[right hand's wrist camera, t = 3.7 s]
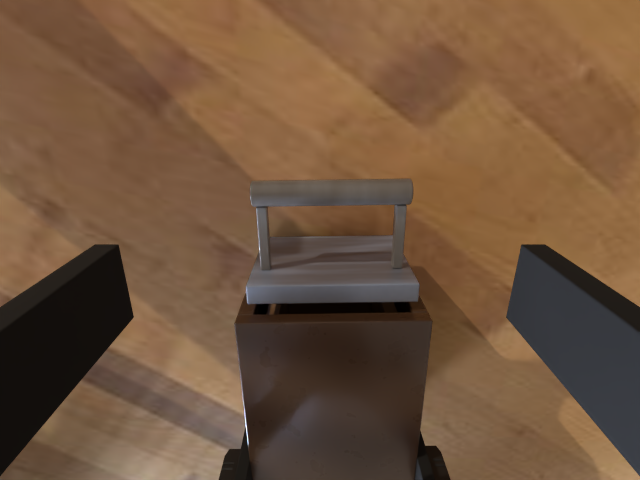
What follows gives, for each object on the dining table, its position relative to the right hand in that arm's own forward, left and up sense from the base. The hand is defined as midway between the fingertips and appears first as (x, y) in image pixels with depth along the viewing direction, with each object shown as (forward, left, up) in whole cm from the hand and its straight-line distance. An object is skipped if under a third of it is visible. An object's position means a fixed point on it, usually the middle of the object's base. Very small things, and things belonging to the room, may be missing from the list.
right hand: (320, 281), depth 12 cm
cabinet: (-8, -12, -16) cm, 22 cm away
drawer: (-5, -8, -15) cm, 18 cm away
